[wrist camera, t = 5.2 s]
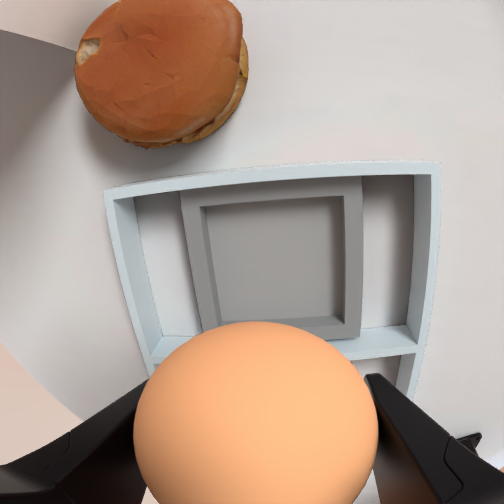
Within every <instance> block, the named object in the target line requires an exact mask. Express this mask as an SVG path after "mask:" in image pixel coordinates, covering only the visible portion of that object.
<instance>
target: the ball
mask: <svg viewBox="0 0 504 504" xmlns="http://www.w3.org/2000/svg"><path fill="white" fill-rule="evenodd" d="M133 439H134V449H135V455H136V460H137V463H138V466H139V469H140V472H141V475H142V477H143V479H144V481H145V483H146V485H147V487H148V488H149V489H150V492H151V493H152V495H153V496H154V498H155V499H156V500H157V501H158V503H159V504H352V503H353V502H354V501H355V499H356V498H357V497H358V495H359V494H360V492H361V491H362V489H363V488H364V486H365V484H366V482H367V480H368V478H369V475H370V473H371V471H372V468H373V466H374V462H375V457H376V453H377V447H378V420H377V414H376V409H375V405H374V402H373V399H372V397H371V394H370V391H369V389H368V387H367V385H366V383H365V382H364V380H363V378H362V377H361V375H360V374H359V372H358V370H357V369H356V368H355V367H354V366H353V364H352V363H351V362H350V361H349V360H348V359H347V358H346V357H345V356H344V355H343V354H342V353H341V352H339V351H338V350H337V349H336V348H335V347H334V346H332V345H331V344H329V343H328V342H326V341H324V340H323V339H321V338H319V337H317V336H315V335H313V334H311V333H309V332H307V331H305V330H302V329H299V328H296V327H293V326H289V325H285V324H280V323H273V322H257V321H250V322H239V323H233V324H229V325H224V326H221V327H217V328H214V329H211V330H208V331H205V332H203V333H201V334H199V335H197V336H195V337H193V338H192V339H190V340H188V341H187V342H185V343H184V344H182V345H181V346H179V347H178V348H176V349H175V350H174V351H173V352H172V353H171V354H170V355H169V356H168V357H167V358H166V359H165V360H164V361H162V362H161V363H160V365H159V366H158V367H157V369H156V370H155V371H154V373H153V374H152V376H151V377H150V379H149V380H148V382H147V383H146V386H145V388H144V390H143V392H142V395H141V397H140V399H139V402H138V405H137V410H136V414H135V420H134V431H133Z"/></svg>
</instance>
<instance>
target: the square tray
mask: <svg viewBox="0 0 504 504" xmlns="http://www.w3.org/2000/svg"><path fill="white" fill-rule="evenodd" d="M179 194H180V201H181V208H182V215H183V221H184V228H185V234H186V241H187V247H188V253H189V259H190V265H191V270H192V276H193V282H194V287H195V293H196V298H197V303H198V308H199V314H200V319H201V324H202V329H203V332H205V331H208V330H211V329H214V328H217V327H221V326H224V325H229V324H233V323H239V322H250V321H257V322H273V323H280V324H285V325H289V326H293V327H296V328H299V329H302V330H305V331H307V332H309V333H311V334H313V335H315V336H317V337H319V338H321V339H323V340H331V339H343V338H355V337H360V329H361V312H362V290H363V197H362V175H358V176H335V177H317V178H301V179H286V180H273V181H261V182H250V183H239V184H229V185H220V186H211V187H202V188H193V189H185V190H179Z"/></svg>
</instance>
